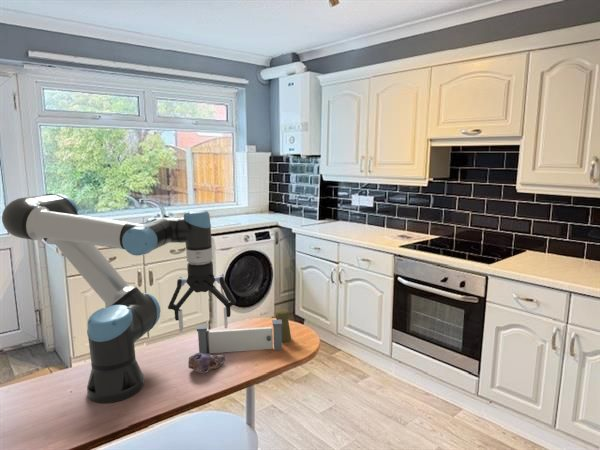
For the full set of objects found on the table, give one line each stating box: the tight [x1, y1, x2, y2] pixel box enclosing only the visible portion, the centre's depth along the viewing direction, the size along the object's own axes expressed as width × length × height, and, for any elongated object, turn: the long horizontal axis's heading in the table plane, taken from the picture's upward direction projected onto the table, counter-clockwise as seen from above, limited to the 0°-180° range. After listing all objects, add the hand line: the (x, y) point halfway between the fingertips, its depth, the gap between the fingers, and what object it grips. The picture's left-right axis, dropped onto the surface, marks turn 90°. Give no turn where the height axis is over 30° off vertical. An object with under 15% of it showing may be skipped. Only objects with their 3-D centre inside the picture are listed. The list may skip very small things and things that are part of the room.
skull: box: [188, 352, 225, 374], centre depth 133 cm, size 12×8×6 cm, turn 123°
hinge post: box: [196, 323, 209, 354], centre depth 142 cm, size 3×4×10 cm
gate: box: [206, 326, 274, 354], centre depth 144 cm, size 22×2×8 cm, turn 97°
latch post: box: [271, 319, 283, 352], centre depth 146 cm, size 3×4×10 cm
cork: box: [274, 309, 292, 344], centre depth 153 cm, size 6×6×11 cm
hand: (203, 328), depth 130 cm, fingers open, 13 cm apart
